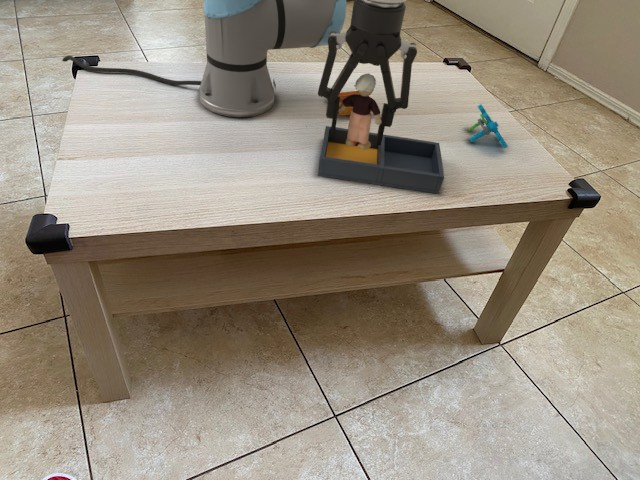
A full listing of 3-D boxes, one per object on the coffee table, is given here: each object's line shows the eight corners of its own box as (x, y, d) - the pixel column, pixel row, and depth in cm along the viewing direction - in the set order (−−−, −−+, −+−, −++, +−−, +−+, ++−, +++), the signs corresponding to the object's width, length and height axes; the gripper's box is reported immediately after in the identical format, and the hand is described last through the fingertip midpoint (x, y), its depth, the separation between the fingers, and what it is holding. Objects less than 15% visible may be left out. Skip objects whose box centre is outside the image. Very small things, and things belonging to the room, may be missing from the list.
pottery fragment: (341, 108, 96) (326, 77, 102) (336, 126, 100) (322, 95, 105) (386, 106, 100) (369, 76, 105) (379, 123, 103) (363, 94, 109)
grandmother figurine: (377, 142, 86) (392, 74, 78) (374, 153, 84) (389, 84, 75) (335, 133, 87) (346, 65, 78) (331, 144, 84) (341, 74, 76)
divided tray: (317, 175, 84) (319, 158, 82) (323, 142, 92) (325, 125, 90) (438, 193, 84) (444, 177, 82) (434, 158, 92) (439, 142, 90)
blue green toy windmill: (515, 152, 94) (491, 113, 90) (487, 169, 96) (463, 131, 92) (501, 130, 103) (478, 93, 99) (475, 146, 105) (452, 110, 101)
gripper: (448, 1, 72) (412, 135, 87) (313, -19, 72) (301, 118, 87) (453, 17, 66) (413, 157, 82) (307, -4, 66) (295, 140, 82)
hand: (355, 137), depth 85 cm, fingers closed on grandmother figurine, 7 cm apart
